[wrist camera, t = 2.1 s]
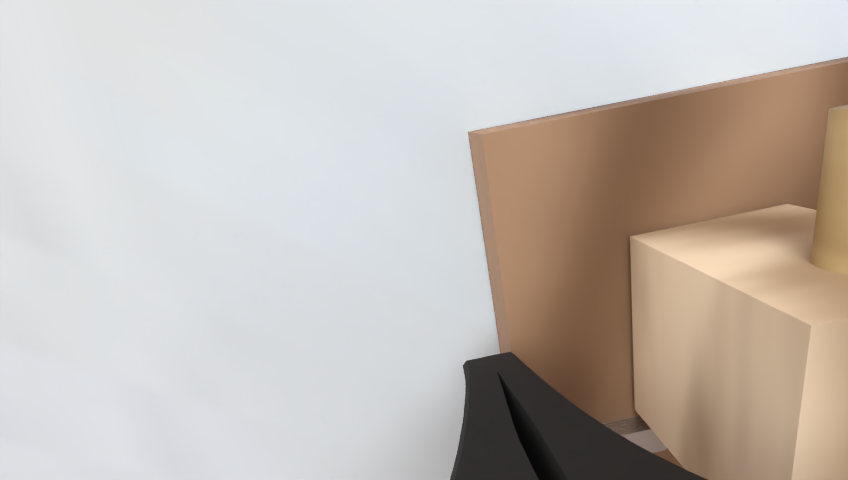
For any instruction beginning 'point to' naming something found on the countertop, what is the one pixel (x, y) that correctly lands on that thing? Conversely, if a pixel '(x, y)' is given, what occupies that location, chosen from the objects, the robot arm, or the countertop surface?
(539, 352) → the walnut board
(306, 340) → the countertop surface
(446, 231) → the countertop surface
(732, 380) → the beige peg block
